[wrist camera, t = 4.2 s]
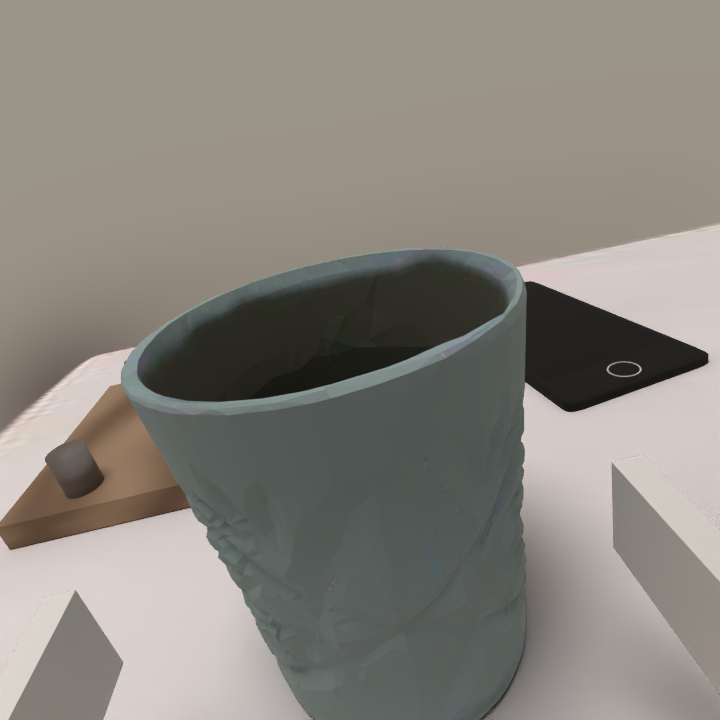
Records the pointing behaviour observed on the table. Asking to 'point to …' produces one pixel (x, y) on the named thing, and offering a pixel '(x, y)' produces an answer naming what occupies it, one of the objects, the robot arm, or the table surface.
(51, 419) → the table surface
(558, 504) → the table surface
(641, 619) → the table surface
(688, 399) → the table surface
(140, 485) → the plate
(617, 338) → the cell phone
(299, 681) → the green cup
